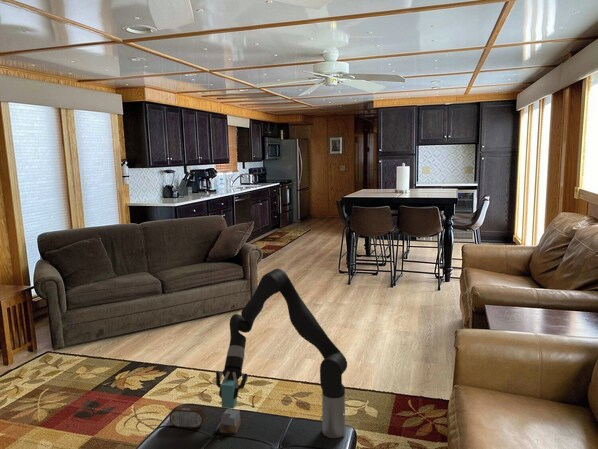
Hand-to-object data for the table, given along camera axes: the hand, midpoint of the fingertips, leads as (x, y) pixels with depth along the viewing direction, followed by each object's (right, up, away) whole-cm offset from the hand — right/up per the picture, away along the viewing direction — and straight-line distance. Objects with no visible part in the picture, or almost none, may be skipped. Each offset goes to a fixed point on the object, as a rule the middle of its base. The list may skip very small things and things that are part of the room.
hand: (227, 397), depth 189 cm
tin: (-18, -14, +5) cm, 24 cm away
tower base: (+1, -14, +4) cm, 15 cm away
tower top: (+1, -11, +3) cm, 11 cm away
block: (0, -4, +2) cm, 5 cm away
